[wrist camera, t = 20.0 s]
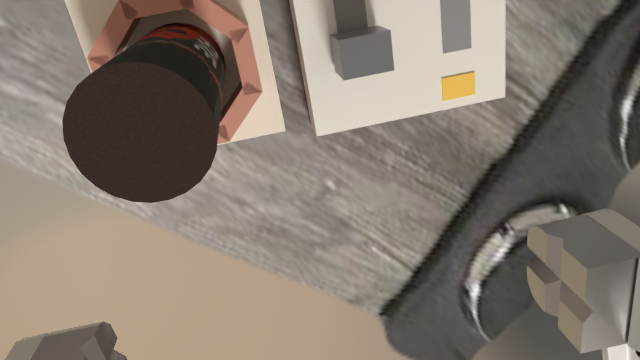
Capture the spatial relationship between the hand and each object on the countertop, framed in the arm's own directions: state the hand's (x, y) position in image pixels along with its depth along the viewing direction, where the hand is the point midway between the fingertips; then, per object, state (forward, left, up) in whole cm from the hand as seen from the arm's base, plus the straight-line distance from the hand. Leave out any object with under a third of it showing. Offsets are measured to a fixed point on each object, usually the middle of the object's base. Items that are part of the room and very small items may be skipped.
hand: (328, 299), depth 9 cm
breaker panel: (+3, -10, -27) cm, 29 cm away
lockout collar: (+1, +5, -27) cm, 28 cm away
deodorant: (+1, +6, -27) cm, 28 cm away
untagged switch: (0, -6, -24) cm, 25 cm away
